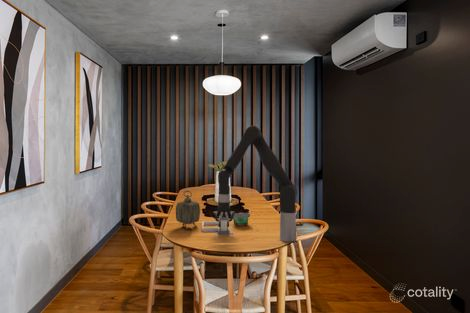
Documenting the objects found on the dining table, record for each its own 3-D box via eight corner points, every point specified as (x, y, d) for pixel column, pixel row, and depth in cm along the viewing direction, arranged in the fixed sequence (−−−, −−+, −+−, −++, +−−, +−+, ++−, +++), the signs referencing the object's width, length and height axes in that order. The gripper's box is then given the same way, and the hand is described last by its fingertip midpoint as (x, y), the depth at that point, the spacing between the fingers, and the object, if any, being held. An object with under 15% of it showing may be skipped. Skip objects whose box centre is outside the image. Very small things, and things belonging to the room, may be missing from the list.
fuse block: (232, 232, 218) (232, 227, 218) (233, 236, 210) (233, 231, 210) (214, 232, 217) (214, 228, 217) (214, 236, 209) (214, 231, 209)
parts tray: (219, 225, 234) (219, 221, 234) (220, 232, 216) (220, 227, 216) (202, 225, 233) (202, 221, 233) (201, 233, 215) (201, 228, 215)
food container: (233, 228, 227) (233, 214, 226) (231, 226, 233) (232, 212, 232) (251, 228, 229) (251, 213, 229) (249, 225, 235) (249, 211, 235)
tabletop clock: (199, 228, 228) (200, 191, 226) (191, 231, 220) (191, 192, 219) (183, 224, 235) (183, 189, 234) (174, 227, 227) (174, 190, 226)
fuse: (226, 231, 215) (226, 216, 215) (227, 233, 211) (227, 217, 211) (220, 231, 215) (220, 216, 215) (220, 233, 211) (220, 217, 211)
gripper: (234, 199, 216) (234, 226, 217) (212, 199, 215) (212, 226, 216) (235, 202, 209) (235, 229, 210) (212, 201, 208) (212, 229, 209)
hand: (223, 227), depth 213 cm, fingers closed on fuse, 4 cm apart
